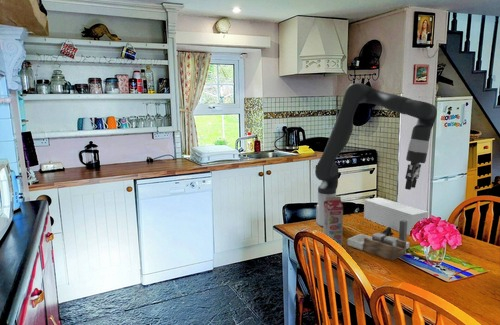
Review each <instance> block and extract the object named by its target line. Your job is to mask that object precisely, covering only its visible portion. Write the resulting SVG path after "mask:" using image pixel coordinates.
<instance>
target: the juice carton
mask: <svg viewBox="0 0 500 325" xmlns="http://www.w3.org/2000/svg"><path fill="white" fill-rule="evenodd" d="M341 200H342V198H341V196H336V197H326V201H325V202H324V218H323V226H322V230H323V231H322V232H323V233H324V234H326V235H327V236H329V237H330V238H332V239H333V240H335V241H336V242H337V243H339V244H340V245H341V246H342V247H343V226H344V218H343V217H344V205H343V203H342V201H341ZM323 233H322V234H323Z"/></svg>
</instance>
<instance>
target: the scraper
mask: <svg viewBox="0 0 500 325" xmlns="http://www.w3.org/2000/svg"><path fill="white" fill-rule="evenodd" d="M398 232H399V235H398V239H399V240H402V241H406V250H407V249H410V242H409V241H407V236H408V235H407V221H405V220H401V221H400V228H399V231H398Z"/></svg>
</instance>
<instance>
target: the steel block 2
mask: <svg viewBox="0 0 500 325" xmlns="http://www.w3.org/2000/svg"><path fill="white" fill-rule="evenodd" d="M398 239H399V237H398V238H397V237H394V236H391V235H389V236H388V237H386V238H384V244H387V245H391V246H394V247H395V249H396V248H398Z"/></svg>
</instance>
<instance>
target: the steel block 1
mask: <svg viewBox="0 0 500 325" xmlns="http://www.w3.org/2000/svg"><path fill="white" fill-rule="evenodd" d="M381 233H382V232H381ZM381 233H380V232H376V233H373V234H372V235H371V237H372V240H375V241H378V242H381V243H384V238H386V235H384V234H381Z"/></svg>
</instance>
